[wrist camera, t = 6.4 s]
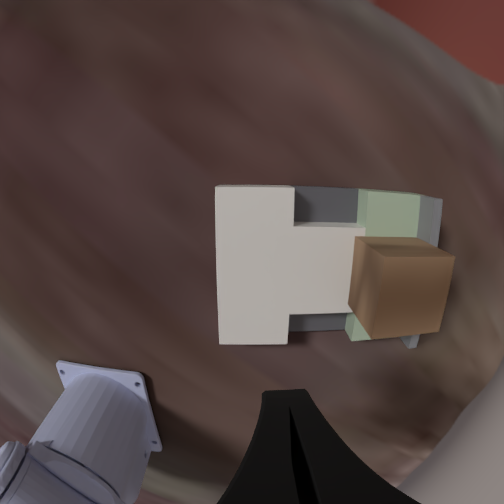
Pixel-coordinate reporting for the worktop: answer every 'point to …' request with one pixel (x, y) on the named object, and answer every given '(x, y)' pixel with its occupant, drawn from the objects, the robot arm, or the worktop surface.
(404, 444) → the worktop surface
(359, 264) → the walnut block
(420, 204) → the board
